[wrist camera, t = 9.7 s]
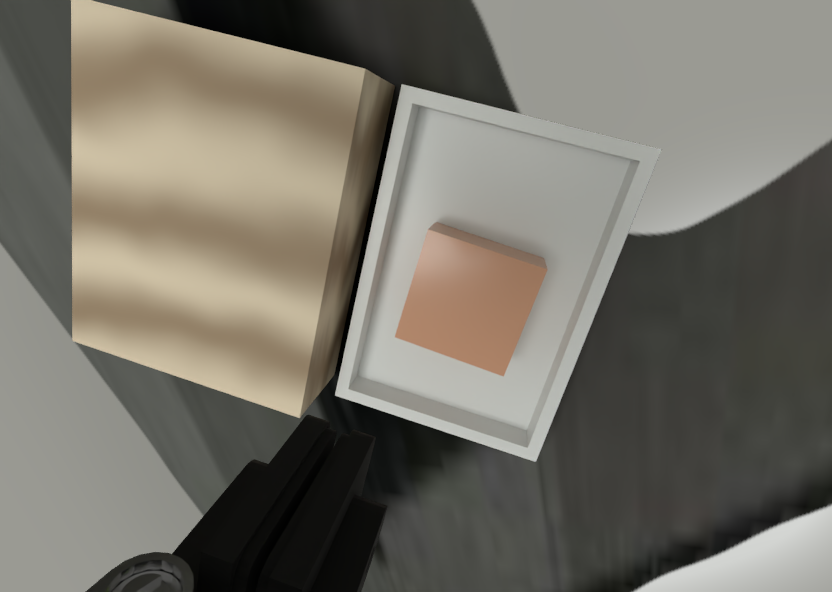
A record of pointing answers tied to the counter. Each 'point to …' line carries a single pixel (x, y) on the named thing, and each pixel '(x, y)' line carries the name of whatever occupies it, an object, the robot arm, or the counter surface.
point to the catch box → (501, 222)
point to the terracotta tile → (470, 297)
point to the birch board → (217, 202)
